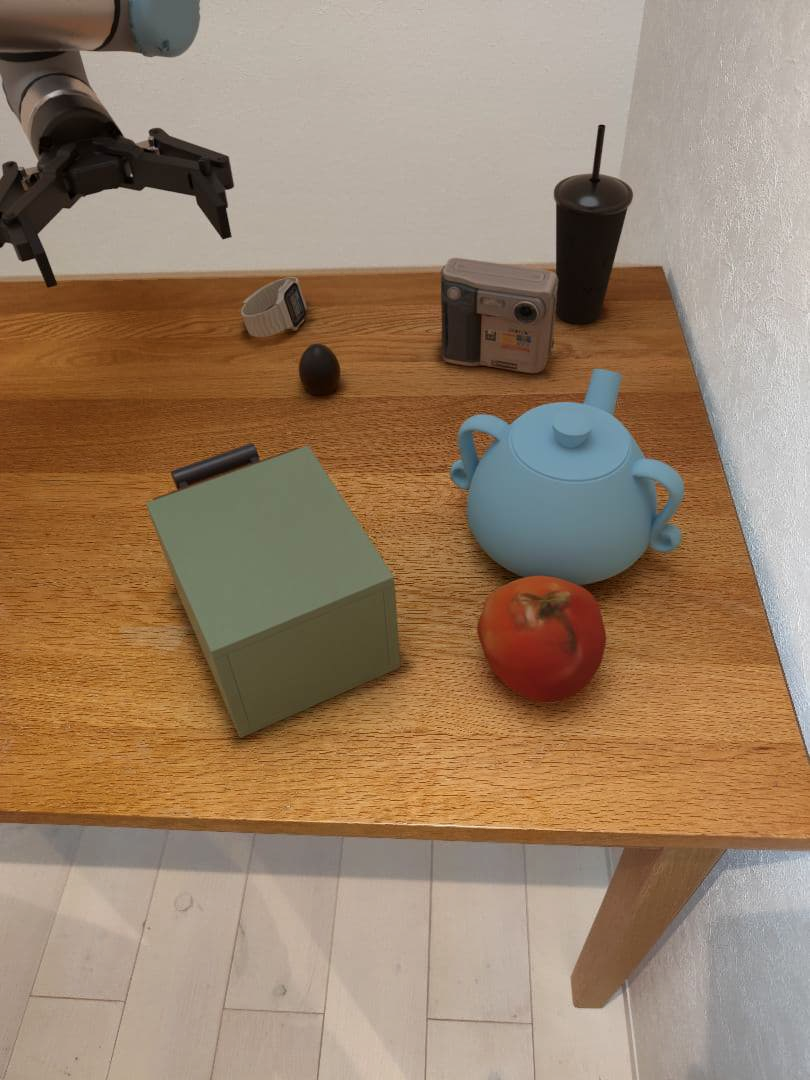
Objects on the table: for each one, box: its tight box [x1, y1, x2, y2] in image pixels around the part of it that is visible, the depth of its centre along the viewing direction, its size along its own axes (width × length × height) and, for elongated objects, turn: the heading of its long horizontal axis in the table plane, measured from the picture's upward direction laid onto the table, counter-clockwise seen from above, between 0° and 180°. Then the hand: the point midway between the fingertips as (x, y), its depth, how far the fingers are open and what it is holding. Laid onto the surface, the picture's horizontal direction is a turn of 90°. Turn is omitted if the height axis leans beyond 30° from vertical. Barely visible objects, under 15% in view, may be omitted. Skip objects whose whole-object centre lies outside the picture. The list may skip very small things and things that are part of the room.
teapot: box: [449, 368, 685, 586], centre depth 72 cm, size 20×20×13 cm
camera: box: [440, 257, 558, 374], centre depth 89 cm, size 11×6×10 cm, turn 70°
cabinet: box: [145, 445, 401, 739], centre depth 66 cm, size 15×13×11 cm
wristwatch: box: [240, 276, 308, 338], centre depth 96 cm, size 9×6×5 cm
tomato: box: [476, 576, 607, 704], centre depth 64 cm, size 9×9×8 cm
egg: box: [298, 343, 341, 396], centre depth 88 cm, size 4×4×5 cm
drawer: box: [152, 442, 298, 501], centre depth 68 cm, size 19×12×9 cm, turn 27°
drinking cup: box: [553, 124, 634, 325], centre depth 90 cm, size 8×8×20 cm
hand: (137, 245), depth 67 cm, fingers open, 13 cm apart
